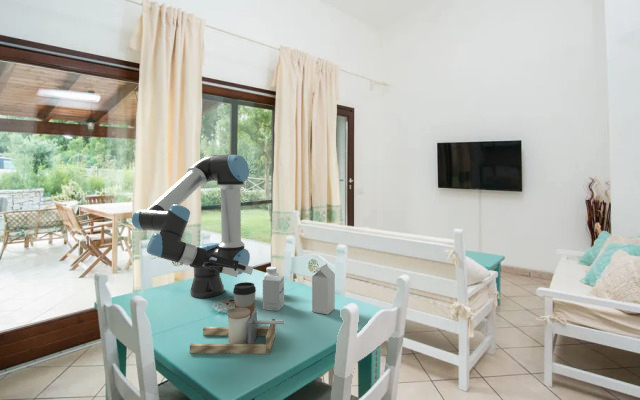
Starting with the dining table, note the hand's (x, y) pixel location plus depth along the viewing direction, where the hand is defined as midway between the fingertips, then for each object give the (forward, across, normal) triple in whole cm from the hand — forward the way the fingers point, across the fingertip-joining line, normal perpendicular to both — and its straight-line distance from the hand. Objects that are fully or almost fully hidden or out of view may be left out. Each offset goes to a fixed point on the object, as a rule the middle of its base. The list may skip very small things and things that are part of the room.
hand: (244, 272), depth 138 cm
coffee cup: (+5, +2, -19) cm, 20 cm away
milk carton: (+34, +9, -7) cm, 36 cm away
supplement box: (+19, -6, -9) cm, 22 cm away
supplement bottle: (+24, -19, -2) cm, 30 cm away
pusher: (+7, +19, -24) cm, 31 cm away
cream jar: (-1, +14, -26) cm, 29 cm away
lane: (-2, +13, -26) cm, 29 cm away
